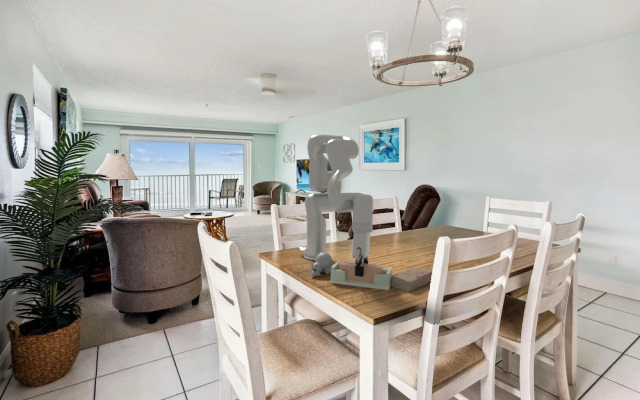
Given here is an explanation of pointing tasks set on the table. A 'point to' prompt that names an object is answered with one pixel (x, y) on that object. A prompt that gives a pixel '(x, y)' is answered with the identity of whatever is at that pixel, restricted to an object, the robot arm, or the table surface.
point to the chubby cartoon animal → (322, 264)
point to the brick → (411, 279)
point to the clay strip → (368, 271)
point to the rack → (379, 282)
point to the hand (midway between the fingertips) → (361, 272)
